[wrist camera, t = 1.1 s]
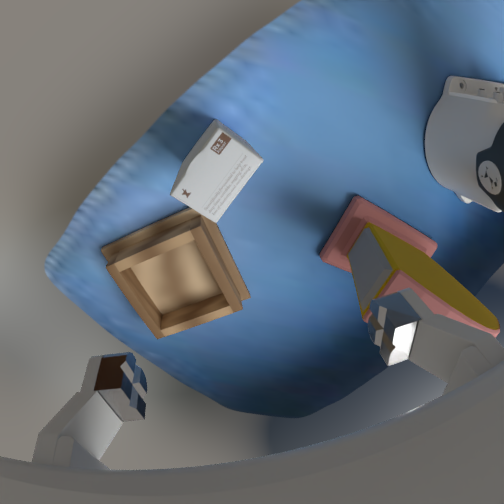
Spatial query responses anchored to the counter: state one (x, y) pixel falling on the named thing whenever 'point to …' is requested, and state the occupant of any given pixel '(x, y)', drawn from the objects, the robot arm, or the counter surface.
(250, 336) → the counter surface
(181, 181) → the skincare box
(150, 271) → the wooden tray
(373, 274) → the pink blocky piece
